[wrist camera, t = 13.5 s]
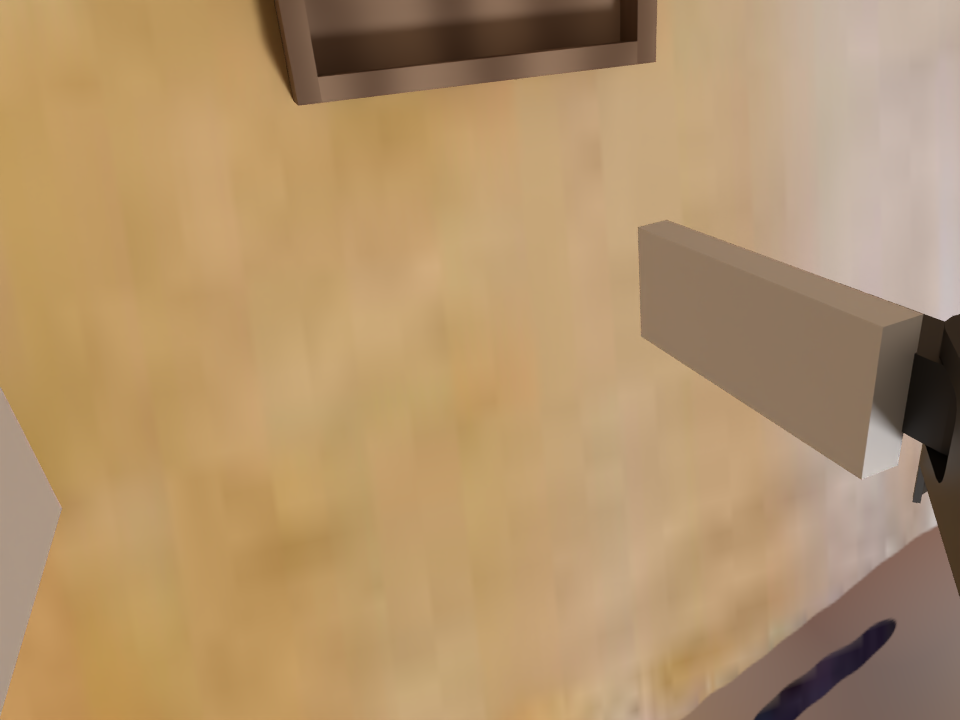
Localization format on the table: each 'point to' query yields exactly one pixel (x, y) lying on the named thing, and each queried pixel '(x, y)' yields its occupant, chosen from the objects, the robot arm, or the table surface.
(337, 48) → the tray
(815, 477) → the table surface
